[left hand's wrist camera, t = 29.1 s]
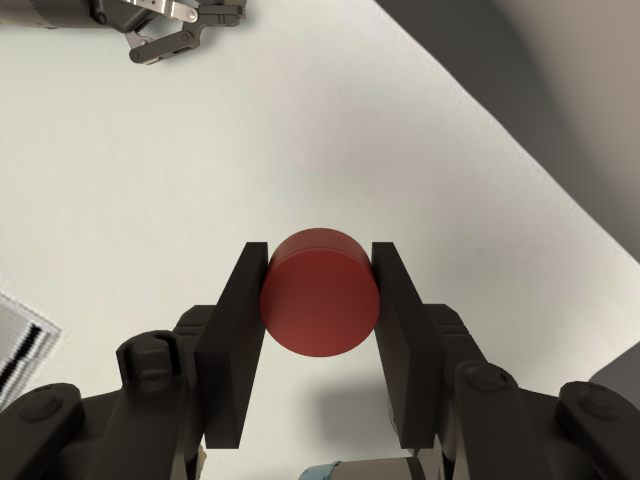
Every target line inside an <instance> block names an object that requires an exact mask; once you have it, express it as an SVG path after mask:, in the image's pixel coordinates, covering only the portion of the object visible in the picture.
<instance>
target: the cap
mask: <svg viewBox="0 0 640 480" xmlns="http://www.w3.org/2000/svg"><path fill="white" fill-rule="evenodd" d="M379 307H380V294H379V290H378V286H377V283H376V280H375V276H374V273H373V269H372V266H371V263H370V260H369V258H368V255H367V254H366V252H365V250H364V249H363V248H362V247H361V245H360V244H359V243H358V242H356V241H355V240H354V239H353V238H351V237H350V236H348V235H346V234H344V233H342V232H339V231H337V230H333V229H327V228H313V229H307V230H303V231H300V232H298V233H295V234H293V235H292V236H290V237H288V238H287V239H286V240H284V241H283V242H282V243H281V244H280V245H279V246H278V247H277V249H276V250H275V252H274V253H273V255H272V257H271V259H270V262H269V265H268V268H267V272H266V275H265V279H264V282H263V285H262V289H261V293H260V312H261V318H262V321H263V324H264V326H265V327H266V329H267V331H268V332H269V333H270V335H271V336H272V337H273V338H274V339H275V340H276V341H277V342H278V343H279V344H281V345H282V346H283V347H285V348H287V349H288V350H290V351H293V352H295V353H298V354H301V355H305V356H310V357H330V356H335V355H339V354H342V353H345V352H347V351H349V350H351V349H353V348H355V347H356V346H358V345H359V344H360V343H362V342H363V341H364V340H365V339H366V338H367V337H368V336H369V334H370V333H371V332H372V330H373V329H374V327H375V325H376V323H377V320H378V318H379Z"/></svg>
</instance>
